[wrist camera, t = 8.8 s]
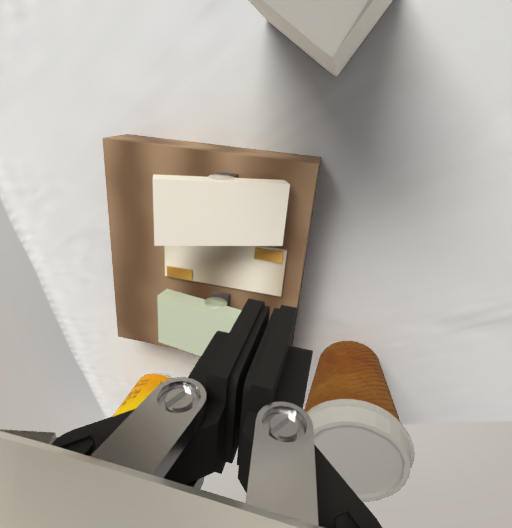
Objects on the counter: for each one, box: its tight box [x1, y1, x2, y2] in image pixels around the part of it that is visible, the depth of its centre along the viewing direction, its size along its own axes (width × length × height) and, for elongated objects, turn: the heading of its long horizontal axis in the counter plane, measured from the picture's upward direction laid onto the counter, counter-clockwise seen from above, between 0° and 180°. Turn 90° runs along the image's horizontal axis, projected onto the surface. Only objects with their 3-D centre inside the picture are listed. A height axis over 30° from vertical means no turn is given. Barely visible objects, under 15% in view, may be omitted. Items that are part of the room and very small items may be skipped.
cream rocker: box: [153, 174, 290, 246], centre depth 29 cm, size 10×5×2 cm, turn 85°
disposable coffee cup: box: [304, 341, 414, 502], centre depth 34 cm, size 10×10×12 cm
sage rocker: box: [157, 289, 242, 356], centre depth 34 cm, size 10×5×2 cm, turn 84°
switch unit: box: [103, 134, 321, 349], centre depth 36 cm, size 18×20×5 cm
